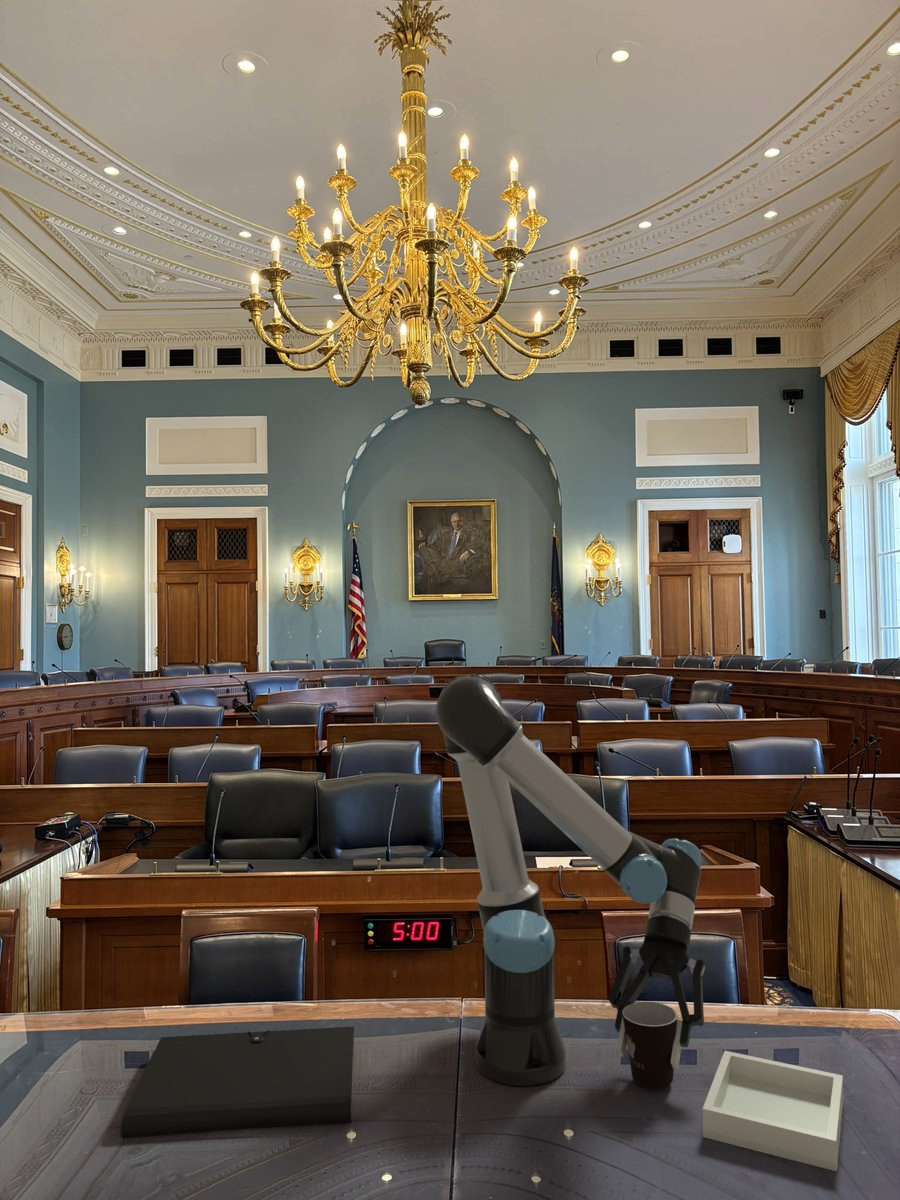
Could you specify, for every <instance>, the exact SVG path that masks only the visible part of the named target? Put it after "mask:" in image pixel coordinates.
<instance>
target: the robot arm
mask: <svg viewBox="0 0 900 1200" xmlns="http://www.w3.org/2000/svg"><path fill="white" fill-rule="evenodd" d="M435 716H436V721H437V724H438V726H439V728H440V730H441V731H442V732H443V738H444V743H445V748H446V752H447V755H448V756H450V757H451V758H453V759H454V760H455V761H456V762H457V766H458V771H459V776H460V780H461V786H462V790H463V796H464V800H465V805H466V807H465V808H466V812H467V817H468V820H469V826H470V830H471V835H472V836H471V837H472V840H473V845H474V850H475V856H476V860H477V866H478V871H479V875H480V880H481V886H482V888H481V891H480V892H479V893H478V896H477V897H476V901H477V902H476V903H477V906H478V912H479V916H480V921H481V927H482V931H483V937H482V943H483V944H482V945H483V949H484V950H483V951H484V1004H485V1005H484V1006H485V1007H484V1008H485V1011H484V1013H485V1014H484V1019H483V1021H482V1025H481V1027H480V1030H479V1035H478V1038H477V1041H476V1044H475V1053H474V1054H475V1057H474V1058H475V1066H476V1068H477V1070H478V1071H479V1073H481V1074H482V1075H483V1076H484V1077H486V1078H487V1079H489V1080H491V1081H494V1082H497V1083H500V1084H504V1085H507V1086H514V1087H515V1086H516V1087H529V1086H530V1087H531V1086H538V1085H543V1084H547V1083H549V1082H552V1081H554V1080H556V1079H557V1078H559V1077H560V1076H561V1075H563V1073H564V1072H565V1070H566V1067H567V1052H566V1045H565V1043H564V1040H563V1036H562V1033H561V1032H560V1028H559V1025H558V1022H557V1019H556V1015H555V960H554V959H555V958H554V957H555V954H554V953H555V947H556V946H555V945H556V941H555V935H554V930H553V927H552V925H551V923H550V922H549V920H548V919H547V917H546V914H545V912H544V908H543V902H542V897H541V893H540V888H539V886H538V884H537V883H535V882H534V881H532V880H531V879H530V878H529V875H528V869H527V865H526V862H525V856H524V851H523V846H522V840H521V836H520V832H519V831H520V830H519V827H518V821H517V817H516V813H515V806H514V802H513V797H512V791H511V787H510V786H511V785H512V786H513V787H514V788H515V789H516V790H517V791H518V792H519V793H520V794H521V795H522V796H523V797H525V798H526V800H527V801H529V802H530V803H531V804H532V805H533V806H534V807H535V808H537V810H538V811H540V812H541V813H542V814H543V815H544V817H546V818H547V819H548V820H549V821H551V822H552V823H553V824H554V825H555V826H556V827H557V828H558V829H559V830H560V831H561V832H562V833H564V835H565V836H566V837H568V838H569V839H570V840H571V841H572V842H573V843H574V844H576V846H578V847H579V848H580V849H581V850H582V851H583V852H584V853H585V854H586V855H587V856H588V857H590V859H592V860H593V861H594V862H595V863H596V864H597V865H598V866H599V867H600V868H602V870H604V873H606V874H607V875H608V876H609V877H610V878H612V880H613V881H615V882H616V883H617V884H618V885H619V886H620V888H621V890H622V892H623V893H624V894H625V895H626V896H627V897H628V898H629V899H630V900H632V901H634V902H636V903H638V904H644V905H645V904H646V905H647V904H650V906H649V912H648V919H647V921H646V928H645V932H644V938H643V943H642V945H641V946H640V947H639V949H637V948H634V949H632V948H630V947H629V946H627V945H626V946H624V947H623V950H622V951H623V952H622V961H621V963H620V966H619V969H618V971H617V974H616V977H615V979H614V982H613V985H612V987H611V990H610V992H609V995H608V1001H609V1003H610V1005H611V1007H612V1008H613V1009H616V1010H617V1011H616V1018H615V1023H614V1029H615V1031H616V1032H617V1033H619V1034H618V1039H617V1044H616V1052H617V1054H618V1055H619V1057H623V1058H625V1056H626V1050H627V1040H626V1034H625V1027H624V1021H623V1015H622V1010H623V1009H624V1008H625V1007H626V1006H627V1005H629V1004H632V1003H636V1001H637V999H638V998H639V996H640V995H641V993H642V992H643V990H644V989H645V988H646V986H647V985H648V983H650V982H651V981H652V980H653V978H655V979H664V980H667V981H670V982H671V981H672V985H673V989H674V993H675V995H676V1001H677V1004H678V1008H679V1012H680V1016H681V1019H682V1020H680V1019H677V1029H676V1036H675V1040H674V1043H673V1049H672V1056H671V1064H672V1067H673V1069H674V1070H677V1071H679V1067H680V1062H681V1061H680V1060H681V1053H682V1047H683V1048H688V1047H689V1046H690V1045H689V1044H690V1036H691V1032H692V1028H693V1027H694V1026H695V1027H696V1026H698V1027H702V1026H704V1025H705V1024H704V1023H705V1017H704V1016H705V1015H704V994H703V993H704V990H703V989H704V988H703V987H704V986H703V978H704V976H705V974H706V970H707V969H706V966H705V963H704V961H703V960H702V959H700V958H699V959H697V960H695V959H693V958H690V956H689V949H690V943H691V937H692V936H691V935H692V931H691V930H692V927H693V922H694V916H695V908H696V907H695V906H696V899H697V894H698V889H699V883H700V878H701V875H702V874H701V873H702V871H701V870H702V853H701V851H700V849H699V848H698V847H697V846H696V845H695V844H694V843H692V842H690V841H688V840H685V839H679V838H676V837H675V838H668V839H665V840H664V842H662V844H659V843H656V842H654V841H652V840H649V839H647V838H645V837H644V836H643V837H642V836H640V835H638V834H636V833H634V832H631V831H629V830H627V829H626V828H624V826H622V825H621V824H620V823H619V822H618V821H617V820H616V819H614V818H613V817H612V815H610V814H609V813H608V812H607V811H606V810H605V809H604V808H603V807H602V806H601V805H600V804H599V803H597V802H596V801H595V800H594V799H593V798H592V797H591V796H590V795H589V794H588V793H587V792H586V791H585V790H584V789H582V788H581V787H580V786H579V785H578V784H577V783H576V782H575V781H574V780H573V779H572V778H570V777H569V776H568V775H567V774H566V773H565V772H564V771H563V770H562V769H561V768H560V767H559V766H558V765H557V764H555V762H553V761H552V760H551V759H550V758H549V757H548V756H547V755H546V754H545V753H543V751H542V750H540V749H539V748H538V746H536V745H535V744H534V743H533V742H532V741H531V740H530V739H528V738H527V737H526V736H525V735H524V733H523V725H522V723H520V722H519V721H518V720H517V719H516V718H515V717H514V716H513V715H512V714H511V713H510V711H509V710H507V708H506V706H504V704H503V703H502V697H501V694H500V693H499V691H498V688H497V687H496V686H495V684H494V683H493V682H491V680H489V679H487V678H486V677H483V676H481V675H479V674H473V673H472V674H462V675H460V676H455V677H454V678H452V679H451V680H450V681H449V682H447V684H445V685H444V687H443V688H442V690H441V692H440V695H439V697H438V699H437V702H436V706H435ZM639 958H640V959H641V962H642V965H641V966H640V967H639V968H640V969H639V971H638V973H637V975H636V976H635V978H634V979H633V981H632V982H631V983H630V985H629V987H628V988H627V989H626V986H627V984H628V980H629V979H630V975H631V973H632V971H633V967H634V966H633V965H634V964H636V962H637V961H638V959H639ZM688 967H689V969H690V972H691V974H692V988H693V989H692V995H693V999H692V1000H693V1013H692V1014H691V1013H690V1012H689V1007H688V1003H687V1000H686V996H685V993H684V990H683V986H682V985H683V984H682V981H681V977H680V975H681V974H682V973H683V972H684V971H685V970H686V969H687V968H688ZM625 989H626V991H625ZM623 993H624V994H623Z"/></svg>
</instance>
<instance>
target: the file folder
mask: <svg viewBox="0 0 900 1200" xmlns="http://www.w3.org/2000/svg"><path fill="white" fill-rule="evenodd" d="M152 1052H153V1053H152V1054H151V1056H150V1058H149V1060H148V1062H147V1065H146V1067H145V1069H144V1071H143V1073H142V1074H141V1077H140V1079H139V1081H138V1082H137V1085H136V1087H135V1089H134V1091H133V1093H132V1095H131V1097H130V1099H129V1102H128V1103H127V1106H126V1107H125V1110H124V1113H123V1115H122V1118H121V1124H120V1136H121V1138H132V1137H144V1136H159V1135H171V1134H172V1135H174V1134H175V1135H176V1134H188V1133H189V1134H190V1133H205V1132H219V1131H221V1132H222V1131H234V1130H235V1131H236V1130H237V1131H238V1130H249V1129H253V1130H254V1129H263V1128H265V1129H266V1128H279V1127H281V1128H282V1127H293V1126H295V1127H296V1126H297V1127H298V1126H308V1125H309V1126H310V1125H312V1126H313V1125H324V1124H325V1125H327V1124H339V1123H352V1111H353V1110H352V1109H353V1084H354V1083H353V1081H354V1057H355V1026H341V1027H340V1026H338V1027H322V1028H320V1027H317V1028H303V1029H300V1028H299V1029H285V1030H270V1029H267V1031H251V1032H250V1031H247V1032H233V1033H232V1032H231V1033H214V1034H194V1035H192V1034H191V1035H181V1036H180V1035H179V1036H178V1035H177V1036H161V1037H160V1039H159V1041H158V1043H157V1045H156V1047H155V1049H154V1050H153V1051H152Z"/></svg>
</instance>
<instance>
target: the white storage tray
mask: <svg viewBox="0 0 900 1200" xmlns="http://www.w3.org/2000/svg"><path fill="white" fill-rule="evenodd" d="M843 1110H844V1076H843V1075H842V1074H838V1073H833V1072H829V1071H823V1070H820V1069H813V1068H809V1067H804V1066H800V1065H795V1064H789V1063H786V1062H780V1061H776V1060H770V1059H766V1058H763V1057H757V1056H752V1055H748V1054H742V1053H737V1052H733V1051H729V1050H724V1051H723V1053H722V1057H721V1059H720V1062H719V1065H718V1067H717V1070H716V1072H715V1075H714V1078H713V1080H712V1083H711V1086H710V1087H709V1091H708V1093H707V1096H706V1099H705V1101H704V1104H703V1106H702V1137H703V1138H706V1139H709V1140H713V1141H717V1142H720V1143H725V1144H728V1145H732V1146H736V1147H740V1148H744V1149H748V1150H752V1151H756V1152H760V1153H764V1154H766V1155H767V1154H768V1155H772V1156H775V1157H780V1158H783V1159H787V1160H792V1161H795V1162H799V1163H803V1164H806V1165H810V1166H814V1167H818V1168H822V1169H826V1170H830V1171H833V1172H837V1171H838V1162H839V1151H840V1140H841V1132H842V1131H841V1130H842V1121H843Z"/></svg>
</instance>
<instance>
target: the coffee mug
mask: <svg viewBox="0 0 900 1200" xmlns="http://www.w3.org/2000/svg"><path fill="white" fill-rule="evenodd" d="M622 1015H623V1021H624V1027H625V1034H626V1040H627V1045H626V1048H627V1053H628V1058H629V1064H630V1071H631V1077H632V1079H633V1081H634V1082H636V1083H637V1084H639V1085H640V1086H643V1087H646V1088H650V1089H651V1088H652V1089H653V1088H654V1089H657V1088H659V1089H660V1088H665V1087H668V1086H669V1085H672V1083H673V1081H674V1070H675V1069H673V1067H672V1064H671V1056H672V1049H673V1043H674V1040H675V1036H676V1029H677V1020H678V1014H677V1011H676V1010H675V1009H674V1008H672V1007H671V1006H669V1005H667V1004H664V1003H660V1002H653V1001H637V1002H636V1001H635V1002H634V1003H632V1004H629V1005H627V1006H626V1007H625V1008H624V1009H623V1010H622Z"/></svg>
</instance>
